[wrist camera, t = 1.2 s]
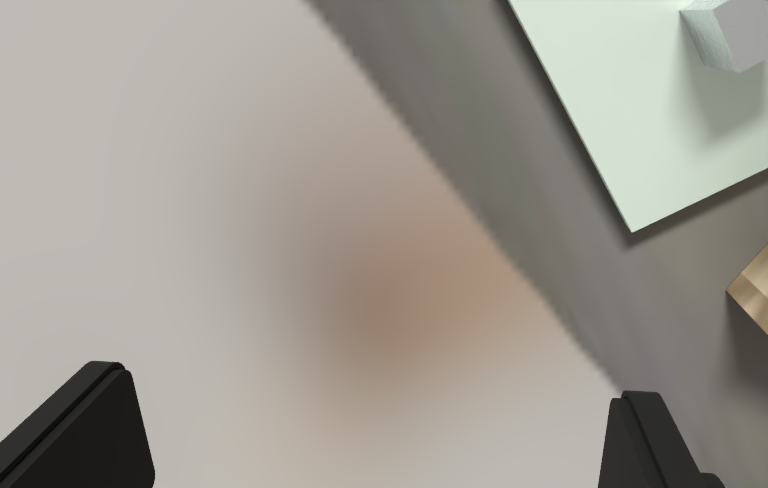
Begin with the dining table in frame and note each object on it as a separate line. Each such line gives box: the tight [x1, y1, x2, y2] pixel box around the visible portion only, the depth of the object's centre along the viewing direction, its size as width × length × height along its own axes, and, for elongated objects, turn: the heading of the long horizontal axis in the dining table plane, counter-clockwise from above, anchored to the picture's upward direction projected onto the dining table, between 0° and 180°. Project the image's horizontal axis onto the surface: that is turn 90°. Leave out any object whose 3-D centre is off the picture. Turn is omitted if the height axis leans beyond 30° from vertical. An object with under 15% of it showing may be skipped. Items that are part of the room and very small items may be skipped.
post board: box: [508, 0, 768, 233], centre depth 26 cm, size 16×16×6 cm
